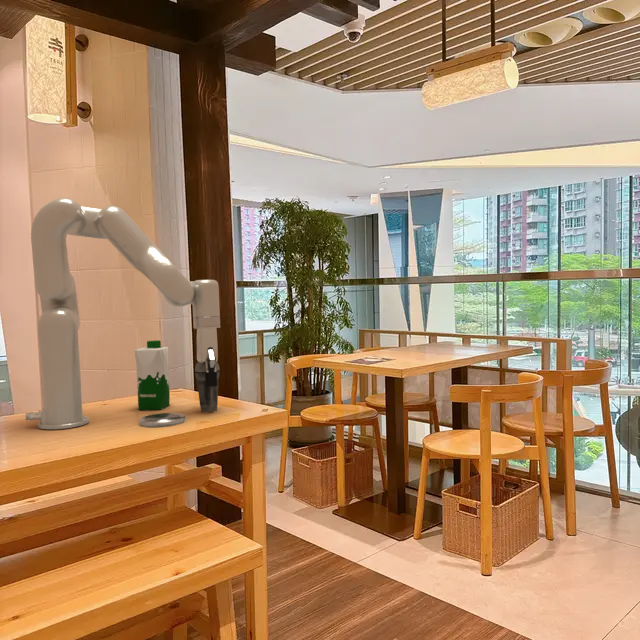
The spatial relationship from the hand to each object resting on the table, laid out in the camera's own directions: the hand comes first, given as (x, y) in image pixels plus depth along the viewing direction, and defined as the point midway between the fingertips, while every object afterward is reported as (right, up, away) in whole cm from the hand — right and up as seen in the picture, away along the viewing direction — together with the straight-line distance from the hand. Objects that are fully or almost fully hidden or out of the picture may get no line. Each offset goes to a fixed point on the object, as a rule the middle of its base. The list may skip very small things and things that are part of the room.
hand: (209, 383), depth 172 cm
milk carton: (-18, -8, +8) cm, 21 cm away
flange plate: (-10, -9, -13) cm, 18 cm away
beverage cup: (0, -8, 0) cm, 8 cm away
